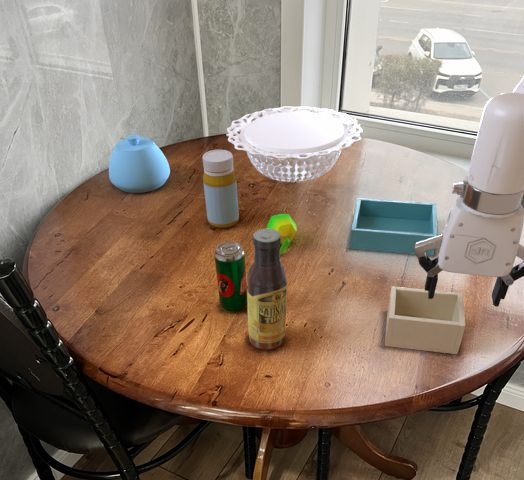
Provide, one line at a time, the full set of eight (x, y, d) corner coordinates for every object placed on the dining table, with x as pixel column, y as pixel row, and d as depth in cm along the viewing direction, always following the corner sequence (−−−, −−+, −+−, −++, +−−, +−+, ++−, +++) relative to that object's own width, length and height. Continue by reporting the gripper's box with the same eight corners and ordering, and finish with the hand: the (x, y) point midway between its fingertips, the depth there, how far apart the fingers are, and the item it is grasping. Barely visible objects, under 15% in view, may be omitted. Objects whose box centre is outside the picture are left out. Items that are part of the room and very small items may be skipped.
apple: (273, 201, 111) (291, 221, 105) (295, 215, 115) (313, 234, 108) (253, 229, 113) (269, 250, 107) (275, 242, 117) (291, 263, 111)
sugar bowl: (99, 190, 134) (88, 144, 126) (131, 166, 144) (122, 121, 136) (152, 199, 129) (144, 151, 122) (181, 173, 140) (175, 127, 132)
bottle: (242, 214, 122) (237, 149, 112) (235, 230, 117) (230, 163, 107) (212, 212, 124) (205, 148, 113) (204, 228, 119) (196, 162, 108)
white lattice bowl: (378, 200, 125) (385, 146, 116) (245, 221, 120) (242, 166, 111) (332, 147, 148) (334, 99, 139) (219, 163, 143) (214, 114, 134)
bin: (432, 221, 117) (436, 203, 114) (433, 256, 107) (437, 236, 104) (355, 216, 120) (357, 197, 117) (349, 248, 110) (351, 229, 107)
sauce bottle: (261, 357, 88) (256, 252, 74) (241, 336, 92) (233, 233, 78) (294, 342, 90) (295, 238, 77) (274, 322, 94) (271, 220, 81)
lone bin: (455, 321, 93) (462, 293, 89) (457, 354, 87) (465, 326, 83) (387, 313, 95) (391, 286, 91) (384, 346, 89) (389, 317, 85)
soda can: (248, 312, 96) (244, 255, 88) (220, 315, 96) (213, 257, 88) (247, 295, 100) (243, 239, 92) (219, 297, 100) (213, 241, 92)
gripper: (425, 202, 71) (404, 305, 83) (566, 214, 68) (524, 319, 80) (425, 177, 77) (406, 277, 88) (555, 188, 74) (517, 289, 85)
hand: (462, 297), depth 84 cm, fingers open, 9 cm apart
